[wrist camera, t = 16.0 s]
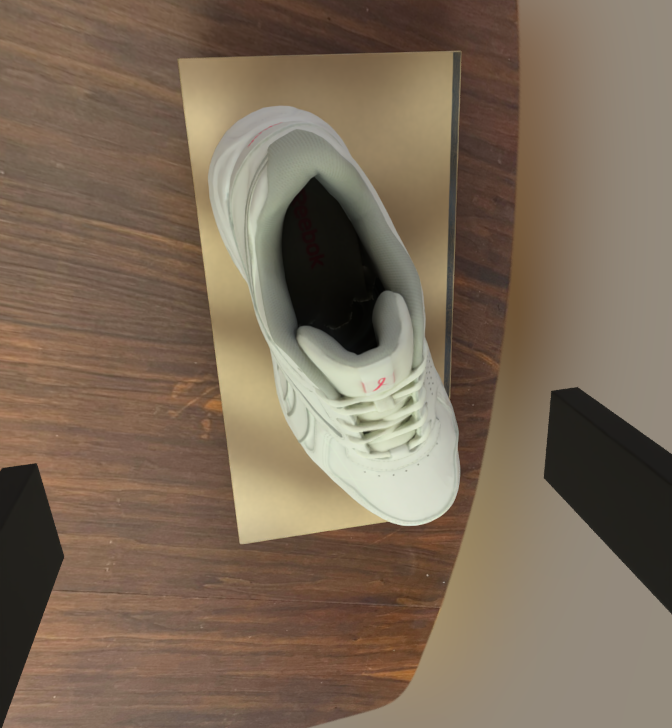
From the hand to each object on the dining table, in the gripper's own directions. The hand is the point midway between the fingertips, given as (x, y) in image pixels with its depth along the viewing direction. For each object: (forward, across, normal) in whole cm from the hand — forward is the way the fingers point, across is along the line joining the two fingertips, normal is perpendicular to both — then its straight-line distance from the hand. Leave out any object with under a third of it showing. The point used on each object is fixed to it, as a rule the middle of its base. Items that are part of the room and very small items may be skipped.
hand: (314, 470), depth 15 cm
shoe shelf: (+28, +5, -4) cm, 29 cm away
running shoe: (+23, +4, -4) cm, 24 cm away
